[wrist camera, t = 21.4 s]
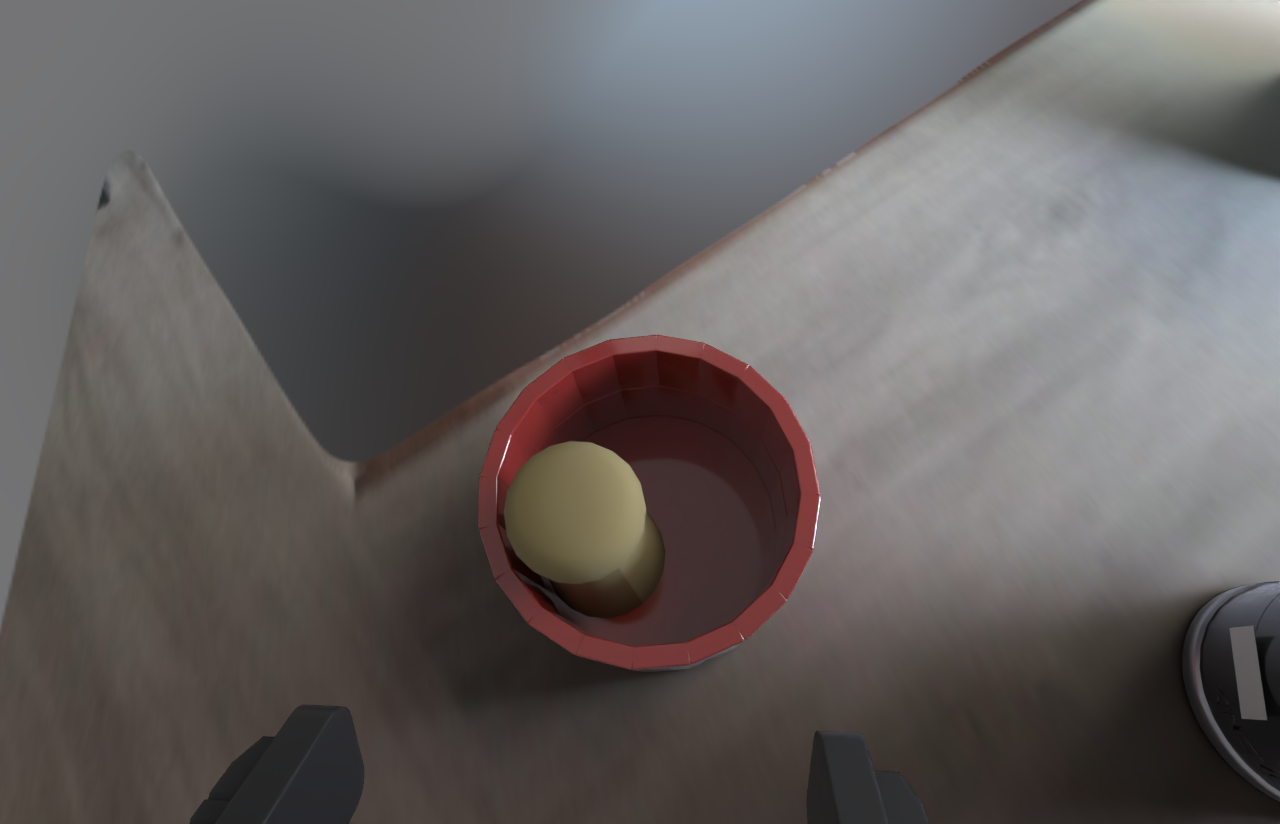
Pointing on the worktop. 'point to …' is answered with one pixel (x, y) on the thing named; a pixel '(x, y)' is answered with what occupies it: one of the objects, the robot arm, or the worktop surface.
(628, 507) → the cork
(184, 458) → the worktop surface
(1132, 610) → the worktop surface
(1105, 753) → the worktop surface
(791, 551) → the pot
